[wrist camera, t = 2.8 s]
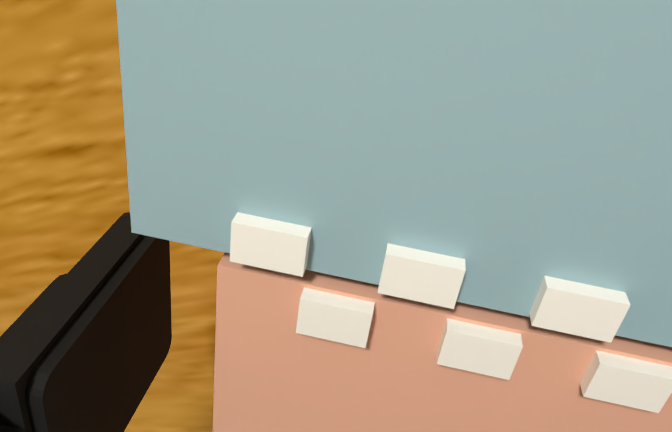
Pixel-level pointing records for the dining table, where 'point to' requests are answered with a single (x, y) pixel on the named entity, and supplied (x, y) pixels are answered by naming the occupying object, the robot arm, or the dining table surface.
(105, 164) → the dining table surface
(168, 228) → the long grey-blue brick
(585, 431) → the stub
